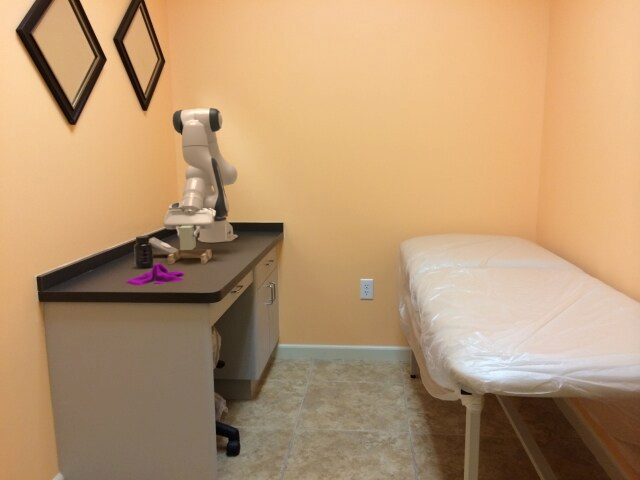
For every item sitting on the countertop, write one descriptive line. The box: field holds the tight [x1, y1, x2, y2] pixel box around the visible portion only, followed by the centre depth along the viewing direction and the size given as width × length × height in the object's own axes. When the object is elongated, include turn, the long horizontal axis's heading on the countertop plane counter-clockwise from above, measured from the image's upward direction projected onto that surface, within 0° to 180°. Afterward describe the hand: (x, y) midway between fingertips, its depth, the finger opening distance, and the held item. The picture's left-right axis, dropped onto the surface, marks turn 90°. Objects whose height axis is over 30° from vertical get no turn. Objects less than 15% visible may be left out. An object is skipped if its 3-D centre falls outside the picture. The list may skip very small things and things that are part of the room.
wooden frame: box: [167, 248, 213, 266], centre depth 206 cm, size 14×14×4 cm
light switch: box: [149, 236, 179, 256], centre depth 216 cm, size 8×6×14 cm
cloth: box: [125, 262, 185, 286], centre depth 175 cm, size 22×19×6 cm
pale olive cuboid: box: [179, 225, 197, 250], centre depth 201 cm, size 7×4×9 cm, turn 0°
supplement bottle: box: [133, 235, 155, 269], centre depth 195 cm, size 7×7×12 cm
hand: (187, 236), depth 200 cm, fingers closed on pale olive cuboid, 4 cm apart
